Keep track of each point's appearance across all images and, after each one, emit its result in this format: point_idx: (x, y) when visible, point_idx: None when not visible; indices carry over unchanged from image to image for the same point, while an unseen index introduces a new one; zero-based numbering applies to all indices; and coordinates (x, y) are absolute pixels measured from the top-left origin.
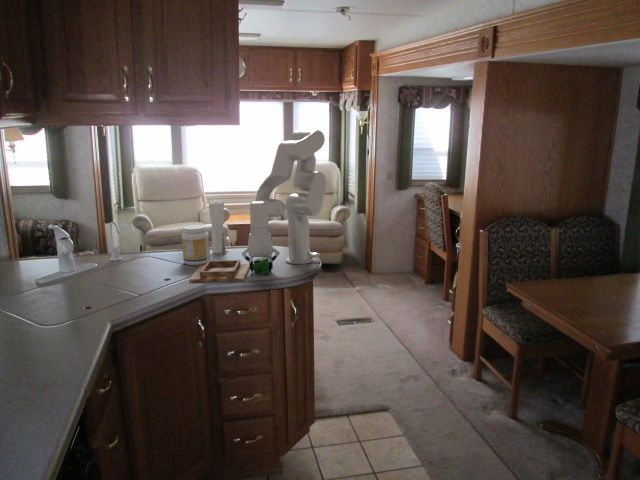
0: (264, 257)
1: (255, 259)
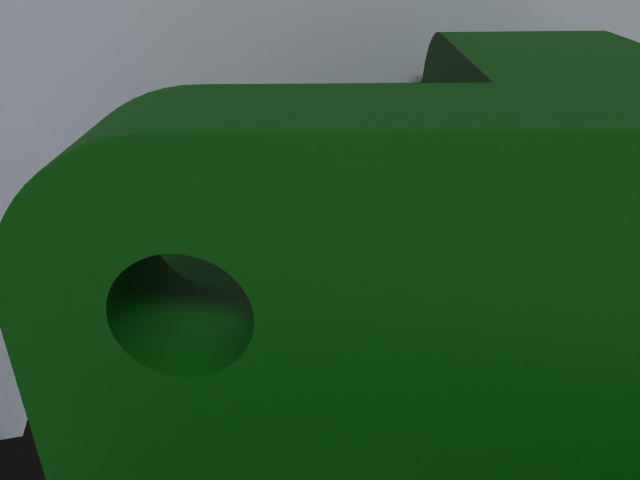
0: (635, 303)
1: (49, 206)
